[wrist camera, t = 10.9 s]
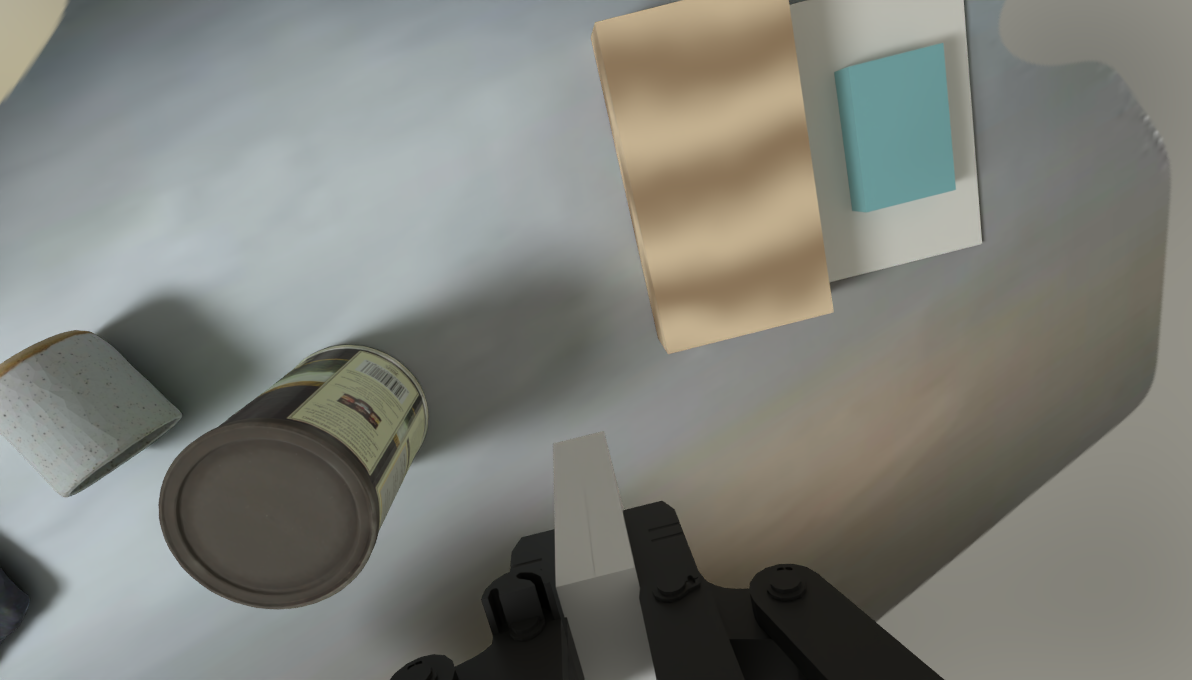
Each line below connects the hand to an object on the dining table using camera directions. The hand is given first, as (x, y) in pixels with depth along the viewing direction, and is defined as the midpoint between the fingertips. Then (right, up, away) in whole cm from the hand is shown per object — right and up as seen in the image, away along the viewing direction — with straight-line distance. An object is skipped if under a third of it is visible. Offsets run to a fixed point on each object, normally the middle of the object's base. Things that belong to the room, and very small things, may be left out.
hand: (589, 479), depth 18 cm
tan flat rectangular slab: (+8, +15, +23) cm, 29 cm away
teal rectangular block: (+20, +17, +21) cm, 34 cm away
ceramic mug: (-33, 0, +25) cm, 41 cm away
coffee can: (-17, -1, +26) cm, 31 cm away
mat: (+19, +18, +23) cm, 35 cm away
